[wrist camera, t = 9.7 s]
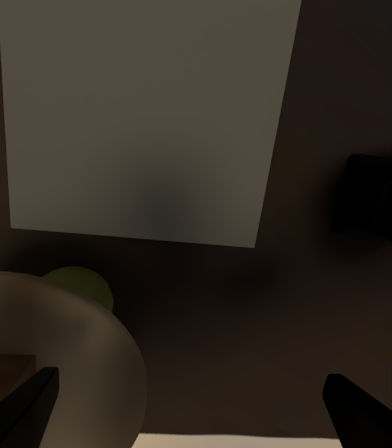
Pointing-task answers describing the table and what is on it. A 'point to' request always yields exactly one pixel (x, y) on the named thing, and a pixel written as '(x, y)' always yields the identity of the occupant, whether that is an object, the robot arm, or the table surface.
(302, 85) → the table surface
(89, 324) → the lid
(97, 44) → the mat
